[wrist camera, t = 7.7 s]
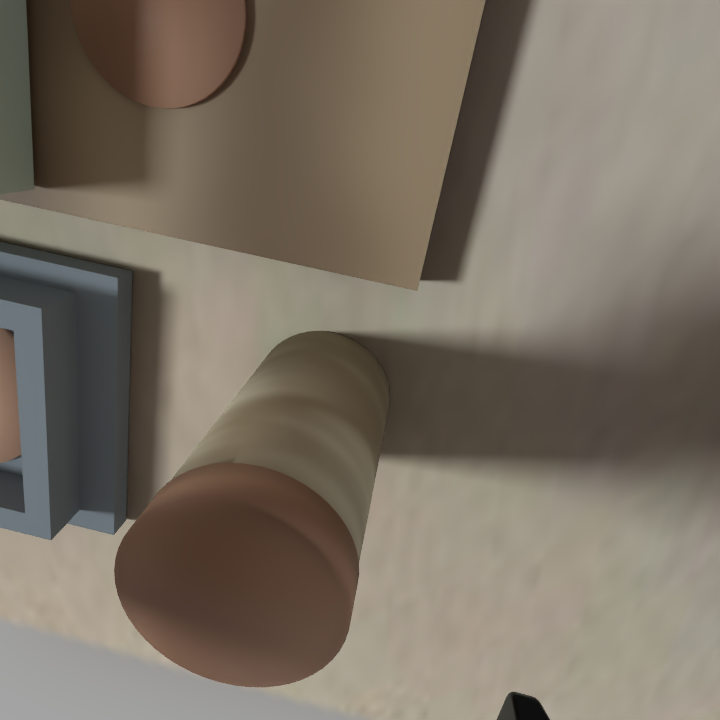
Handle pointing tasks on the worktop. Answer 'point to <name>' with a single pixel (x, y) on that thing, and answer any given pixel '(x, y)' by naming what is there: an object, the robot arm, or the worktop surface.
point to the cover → (15, 100)
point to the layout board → (253, 122)
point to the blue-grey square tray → (63, 392)
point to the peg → (264, 521)
